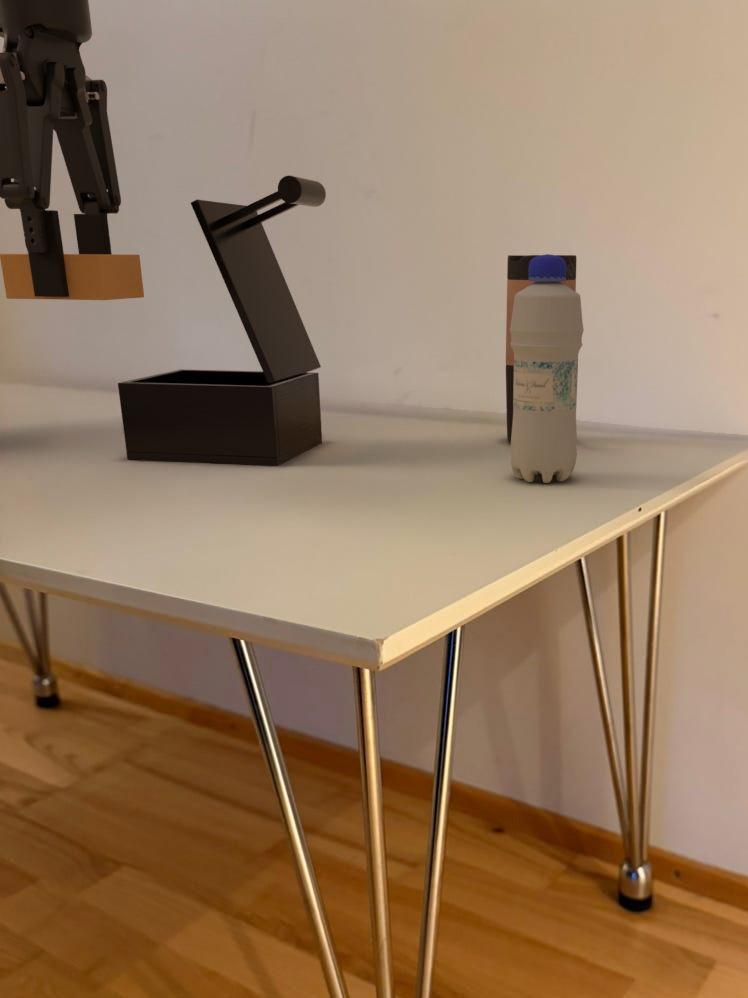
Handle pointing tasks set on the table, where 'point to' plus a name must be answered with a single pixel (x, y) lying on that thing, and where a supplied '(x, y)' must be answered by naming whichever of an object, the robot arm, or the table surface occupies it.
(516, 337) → the bottle
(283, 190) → the maker lid
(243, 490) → the table surface
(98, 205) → the robot arm
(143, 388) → the open dark storage box
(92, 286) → the orange rectangular block
